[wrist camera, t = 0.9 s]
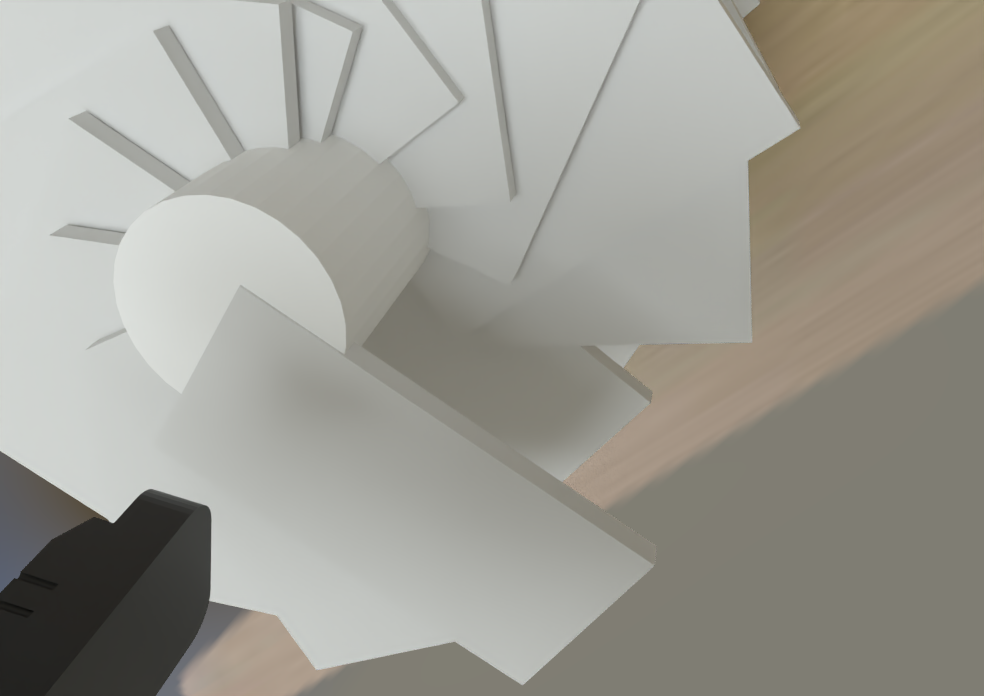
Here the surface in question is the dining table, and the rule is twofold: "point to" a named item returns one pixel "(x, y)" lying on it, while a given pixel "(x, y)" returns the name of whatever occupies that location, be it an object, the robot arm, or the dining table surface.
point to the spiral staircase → (371, 286)
